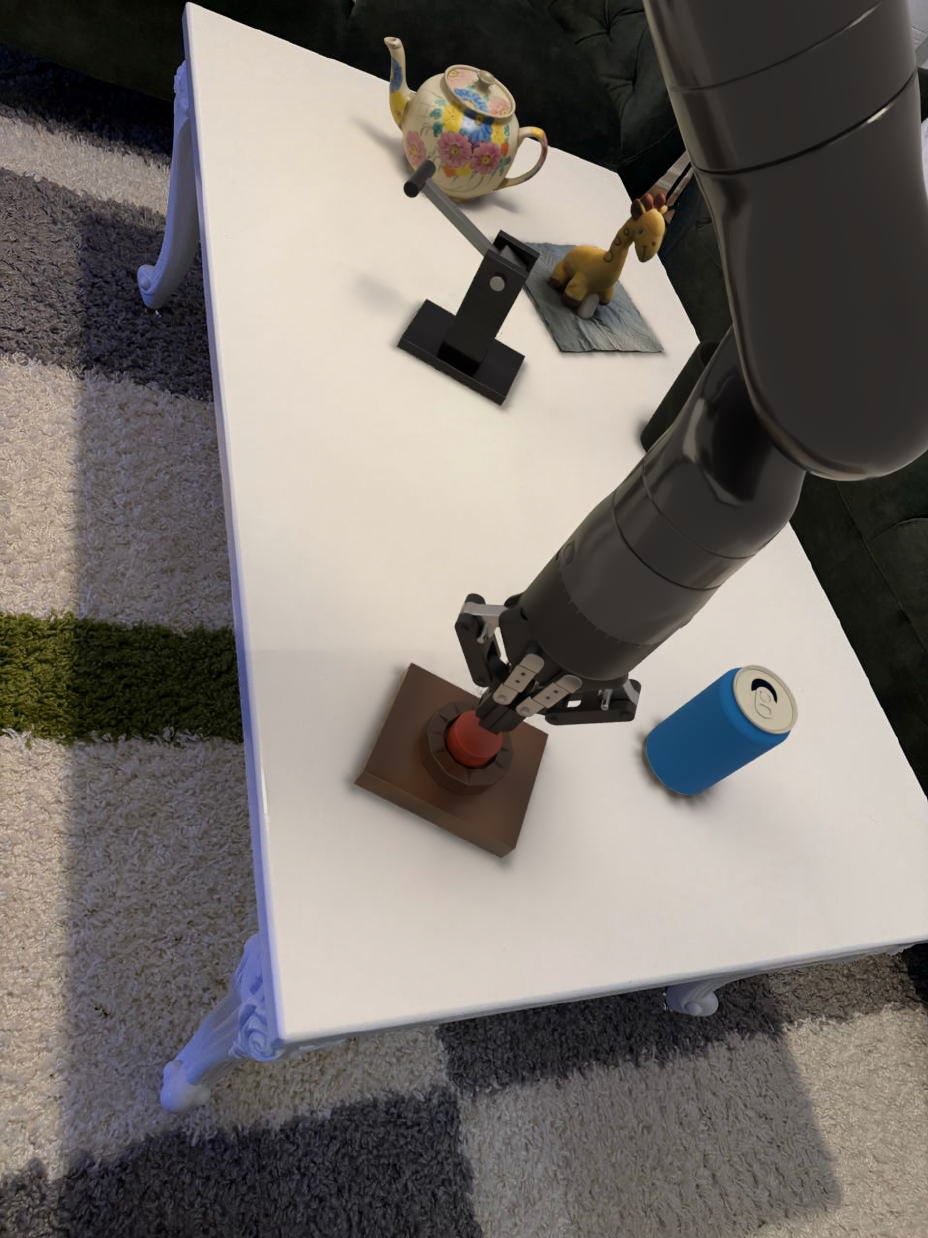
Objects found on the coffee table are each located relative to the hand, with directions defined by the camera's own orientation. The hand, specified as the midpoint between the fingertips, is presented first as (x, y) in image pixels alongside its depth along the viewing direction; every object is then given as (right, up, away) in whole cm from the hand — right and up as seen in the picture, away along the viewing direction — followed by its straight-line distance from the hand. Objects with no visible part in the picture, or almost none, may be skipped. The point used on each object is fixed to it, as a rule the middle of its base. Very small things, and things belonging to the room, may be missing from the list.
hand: (489, 719), depth 60 cm
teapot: (-5, +61, +49) cm, 78 cm away
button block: (-3, -4, +6) cm, 7 cm away
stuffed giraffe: (+12, +46, +47) cm, 66 cm away
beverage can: (+16, -5, +14) cm, 22 cm away
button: (-1, -2, +3) cm, 4 cm away
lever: (-2, +42, +22) cm, 48 cm away
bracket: (-2, +34, +32) cm, 47 cm away
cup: (+20, +26, +37) cm, 50 cm away
